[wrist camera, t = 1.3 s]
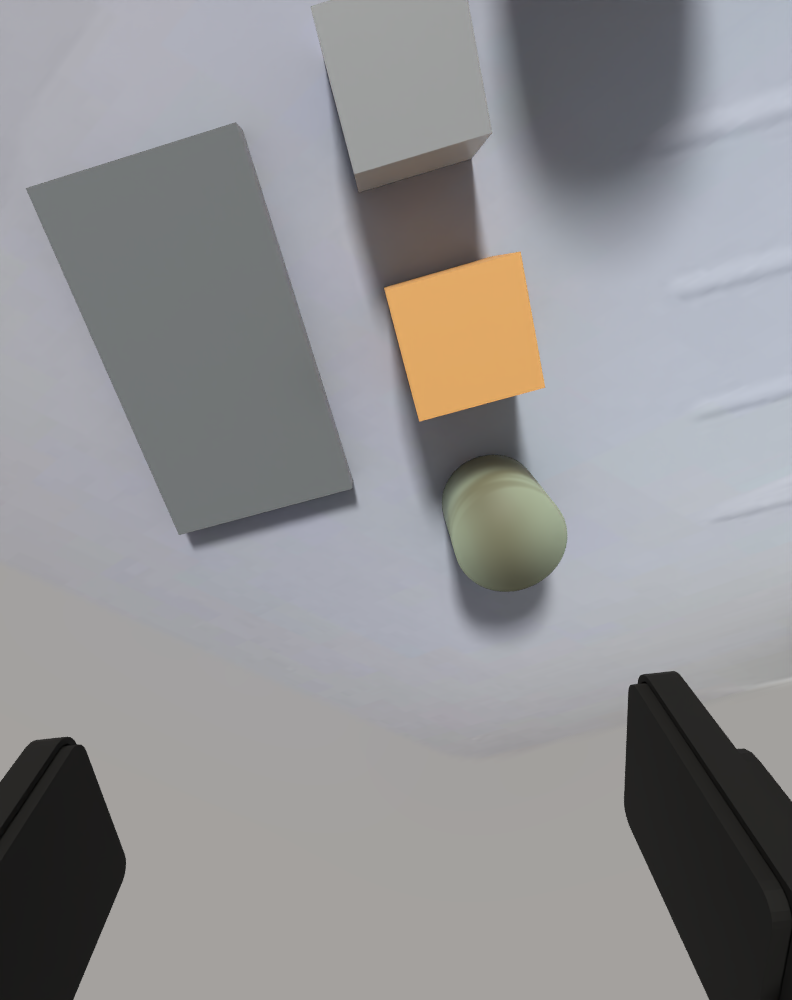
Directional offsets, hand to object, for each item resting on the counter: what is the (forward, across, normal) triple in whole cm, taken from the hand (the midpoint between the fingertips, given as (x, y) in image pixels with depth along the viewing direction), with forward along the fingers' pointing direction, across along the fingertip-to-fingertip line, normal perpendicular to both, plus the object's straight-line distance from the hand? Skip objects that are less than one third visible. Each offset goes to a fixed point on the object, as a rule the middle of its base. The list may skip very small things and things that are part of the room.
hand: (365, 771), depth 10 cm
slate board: (+21, +7, -6) cm, 23 cm away
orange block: (+21, -4, -5) cm, 22 cm away
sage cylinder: (+21, -6, +4) cm, 22 cm away
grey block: (+21, -3, -14) cm, 25 cm away
